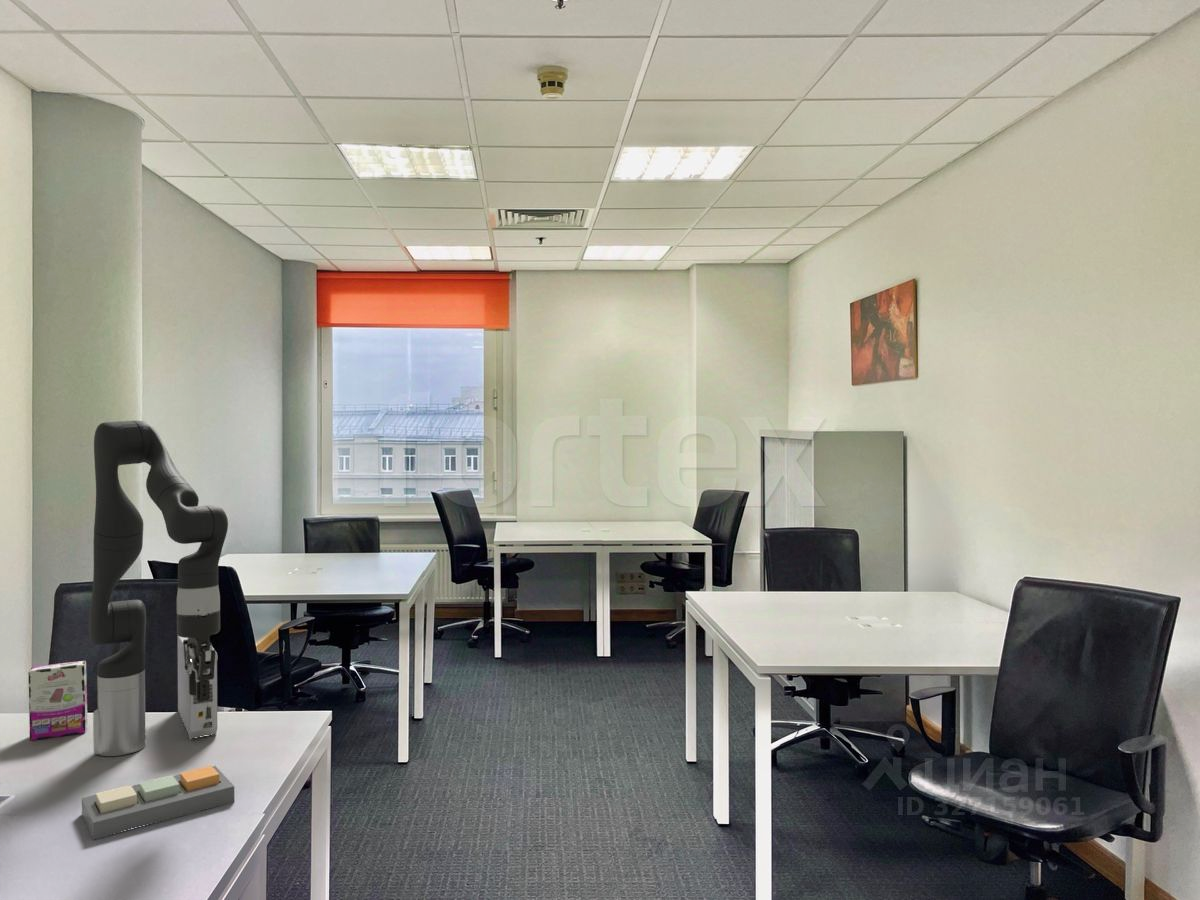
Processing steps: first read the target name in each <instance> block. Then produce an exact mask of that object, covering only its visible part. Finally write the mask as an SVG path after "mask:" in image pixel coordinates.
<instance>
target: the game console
mask: <svg viewBox="0 0 1200 900" xmlns="http://www.w3.org/2000/svg"><path fill="white" fill-rule="evenodd" d="M186 639H188V638H184V637H180V636H178V635H177V712H178V713H180V714H179V716H180V718H182V719H181V721H182V720H183V721H182V723H183V722H184V724H183V726H184V725H185V726H184V728H185V727H186V729H185V731H186V730H187V731H186V733H187V732H188V734H189V736H188V738H189V737H190V738H195V737H200V736H204V735H211V734H216V735H217V732H218V652H217V651H216V650H215V648H214V647H213V646H212V648H213V650H215V652H216V654H215V666H214V679H211V680H210V699H209V700H208V701H203V702H198V701H197V700H196V695H190V694H189V676H190V675H189V676H188V674H187V670H185V660H184V645H183V640H186ZM190 659H191V658H190ZM203 674H207V673H206V669H205V670H203ZM188 734H187V735H188Z"/></svg>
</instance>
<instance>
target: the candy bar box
mask: <svg viewBox="0 0 1200 900" xmlns="http://www.w3.org/2000/svg"><path fill="white" fill-rule="evenodd" d="M27 674H28V702H29V703H28V705H29V706H28V707H29V708H28V709H29V710H28V711H29V714H28V716H29V717H28V718H29V719H28V720H29V722H28V723H29V741H31V742H32V741H38V740H46V739H47V740H48V739H52V738H53V739H54V738H60V737H64V736H65V737H66V736H72V735H79V734H85V733H86V732H87V729H88V698H87V697H88V690H87V688H88V687H87V685H88V683H87V660H81V661H80V660H79V661H71V662H70V661H68V662H62V663H61V662H60V663H54V664H53V663H52V664H45V665H44V664H43V665H36V666H32V667H31V668H30V669H29V671H28V673H27Z"/></svg>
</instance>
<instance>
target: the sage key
mask: <svg viewBox="0 0 1200 900" xmlns="http://www.w3.org/2000/svg"><path fill="white" fill-rule="evenodd" d="M173 776H174V775H173V774H171V775H166V776H162V777H159V778H153V779H150V780H145V781H140V782H139V794H140V795H141V797H142V798H143V800H144V802H147V801H151V800H155V799H159V798H163V797H167V796H170V795H174V794H178V793H179V783H178V782H177V780H176V779H175V778H174V777H173Z"/></svg>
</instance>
